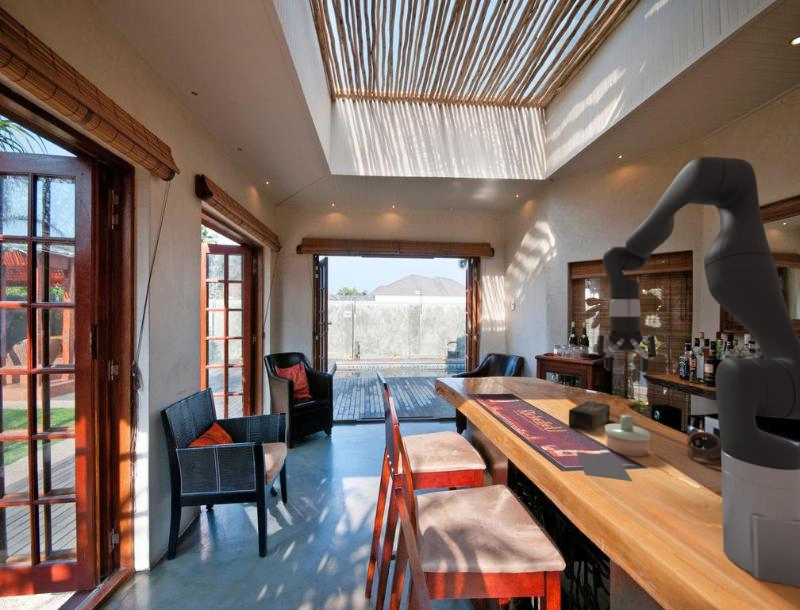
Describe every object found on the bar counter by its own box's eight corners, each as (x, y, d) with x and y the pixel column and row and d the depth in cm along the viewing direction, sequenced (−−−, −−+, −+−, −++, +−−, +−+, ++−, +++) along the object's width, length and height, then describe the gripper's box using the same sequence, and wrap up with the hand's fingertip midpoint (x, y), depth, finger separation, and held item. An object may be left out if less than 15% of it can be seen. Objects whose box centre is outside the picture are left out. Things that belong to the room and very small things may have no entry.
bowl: (654, 461, 93) (653, 442, 93) (611, 456, 96) (611, 438, 96) (641, 447, 102) (641, 430, 102) (603, 443, 106) (603, 426, 106)
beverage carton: (611, 420, 128) (610, 402, 128) (592, 433, 115) (591, 413, 115) (587, 415, 134) (587, 398, 134) (567, 427, 121) (567, 408, 121)
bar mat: (632, 483, 82) (632, 480, 82) (585, 476, 85) (585, 474, 85) (616, 458, 95) (616, 456, 95) (576, 454, 98) (576, 452, 98)
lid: (656, 443, 92) (656, 424, 92) (609, 438, 96) (609, 420, 96) (642, 429, 103) (642, 412, 103) (600, 425, 106) (600, 409, 106)
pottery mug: (744, 468, 90) (736, 444, 88) (708, 482, 91) (699, 458, 89) (705, 439, 102) (697, 417, 100) (674, 452, 103) (665, 430, 101)
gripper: (599, 315, 98) (600, 372, 98) (658, 315, 94) (660, 374, 94) (594, 315, 106) (595, 367, 105) (649, 314, 101) (650, 370, 101)
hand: (625, 371), depth 99 cm, fingers open, 8 cm apart
